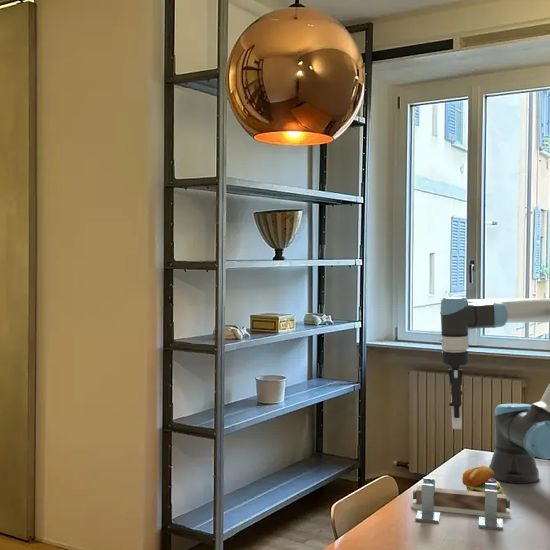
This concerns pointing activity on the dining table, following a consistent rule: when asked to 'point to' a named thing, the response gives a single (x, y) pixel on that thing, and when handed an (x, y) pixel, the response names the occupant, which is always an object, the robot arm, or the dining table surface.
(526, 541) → the dining table surface
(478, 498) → the rail
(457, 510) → the white plank
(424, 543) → the dining table surface
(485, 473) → the cheeseburger
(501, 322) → the robot arm
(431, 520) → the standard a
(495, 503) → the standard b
